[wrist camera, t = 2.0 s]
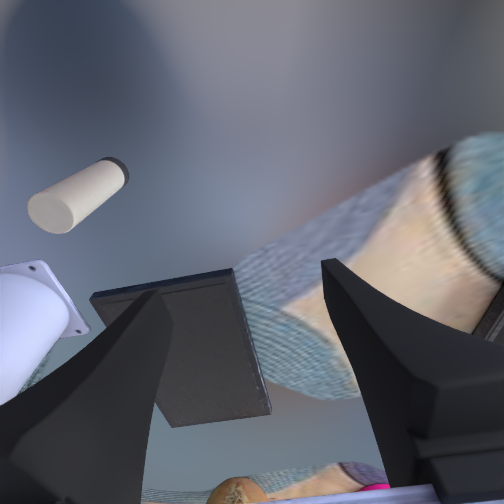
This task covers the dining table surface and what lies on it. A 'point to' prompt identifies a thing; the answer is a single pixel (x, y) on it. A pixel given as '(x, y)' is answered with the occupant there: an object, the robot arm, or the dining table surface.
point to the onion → (237, 492)
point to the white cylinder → (77, 195)
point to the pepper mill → (375, 487)
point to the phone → (493, 321)
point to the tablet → (201, 349)
